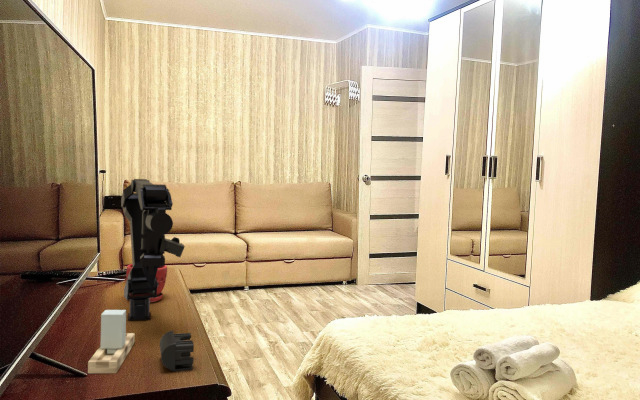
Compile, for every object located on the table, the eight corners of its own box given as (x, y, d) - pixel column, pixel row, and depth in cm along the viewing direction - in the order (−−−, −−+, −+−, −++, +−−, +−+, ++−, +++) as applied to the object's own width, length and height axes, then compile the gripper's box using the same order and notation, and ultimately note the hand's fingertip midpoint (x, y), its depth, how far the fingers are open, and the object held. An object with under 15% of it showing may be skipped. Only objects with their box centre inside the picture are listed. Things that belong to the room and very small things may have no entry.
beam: (109, 343, 137) (110, 333, 137) (134, 342, 138) (135, 333, 138) (87, 373, 117) (87, 361, 117) (116, 373, 118) (116, 361, 118)
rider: (104, 348, 129) (105, 309, 128) (125, 348, 130) (126, 309, 129) (100, 354, 125) (101, 314, 124) (121, 353, 126) (122, 314, 125)
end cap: (159, 358, 129) (159, 330, 128) (189, 355, 131) (189, 329, 130) (160, 374, 119) (161, 344, 119) (193, 371, 121) (194, 342, 121)
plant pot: (159, 305, 174) (160, 269, 173) (119, 303, 174) (120, 267, 174) (171, 296, 187) (172, 262, 186) (134, 294, 187) (134, 260, 187)
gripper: (185, 234, 139) (183, 293, 140) (181, 226, 156) (179, 278, 157) (140, 234, 135) (139, 294, 136) (141, 225, 153) (140, 279, 154)
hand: (151, 286), depth 146 cm, fingers closed
